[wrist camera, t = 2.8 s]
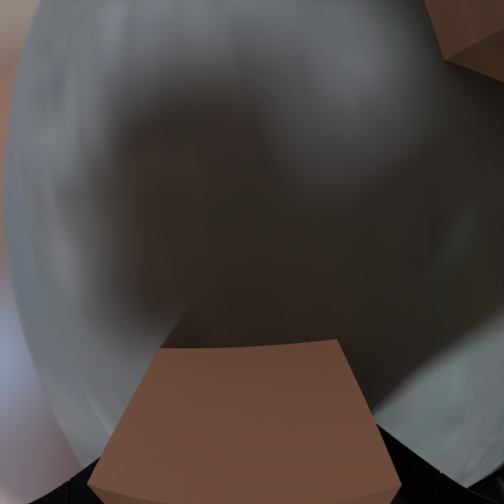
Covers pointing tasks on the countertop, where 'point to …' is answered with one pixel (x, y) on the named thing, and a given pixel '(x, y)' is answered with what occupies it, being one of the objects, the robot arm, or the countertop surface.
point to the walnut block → (470, 33)
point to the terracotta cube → (247, 431)
